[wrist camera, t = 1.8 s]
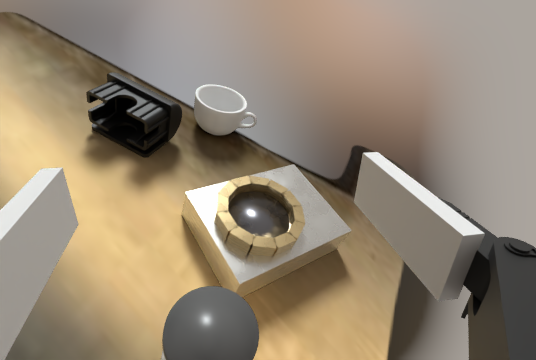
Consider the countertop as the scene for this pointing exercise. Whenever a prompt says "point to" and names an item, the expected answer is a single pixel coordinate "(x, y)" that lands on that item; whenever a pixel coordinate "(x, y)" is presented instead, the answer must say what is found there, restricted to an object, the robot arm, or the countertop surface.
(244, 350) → the telephoto lens
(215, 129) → the teacup
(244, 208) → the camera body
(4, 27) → the countertop surface
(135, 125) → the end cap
